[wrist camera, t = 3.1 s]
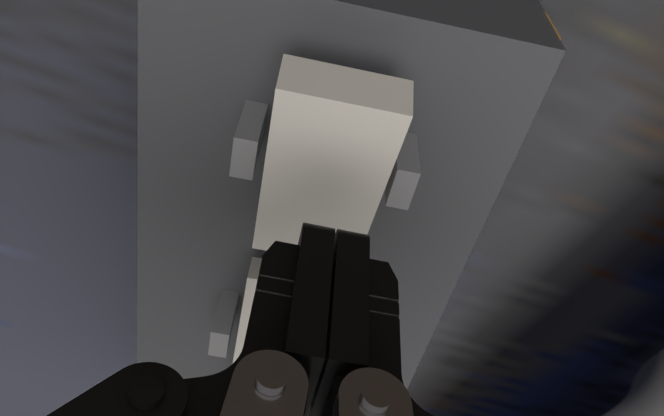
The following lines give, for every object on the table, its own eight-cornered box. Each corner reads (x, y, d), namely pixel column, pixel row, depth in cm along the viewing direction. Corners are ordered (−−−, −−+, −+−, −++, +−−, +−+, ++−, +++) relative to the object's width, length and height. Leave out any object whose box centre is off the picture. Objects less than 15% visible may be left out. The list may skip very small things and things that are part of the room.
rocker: (283, 53, 19) (275, 88, 18) (413, 80, 19) (413, 116, 18) (259, 215, 25) (252, 248, 24) (357, 233, 25) (354, 266, 24)
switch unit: (180, -88, 24) (111, -15, 17) (540, -8, 25) (595, 88, 19) (160, 378, 42) (123, 494, 36) (366, 411, 43) (365, 529, 37)
